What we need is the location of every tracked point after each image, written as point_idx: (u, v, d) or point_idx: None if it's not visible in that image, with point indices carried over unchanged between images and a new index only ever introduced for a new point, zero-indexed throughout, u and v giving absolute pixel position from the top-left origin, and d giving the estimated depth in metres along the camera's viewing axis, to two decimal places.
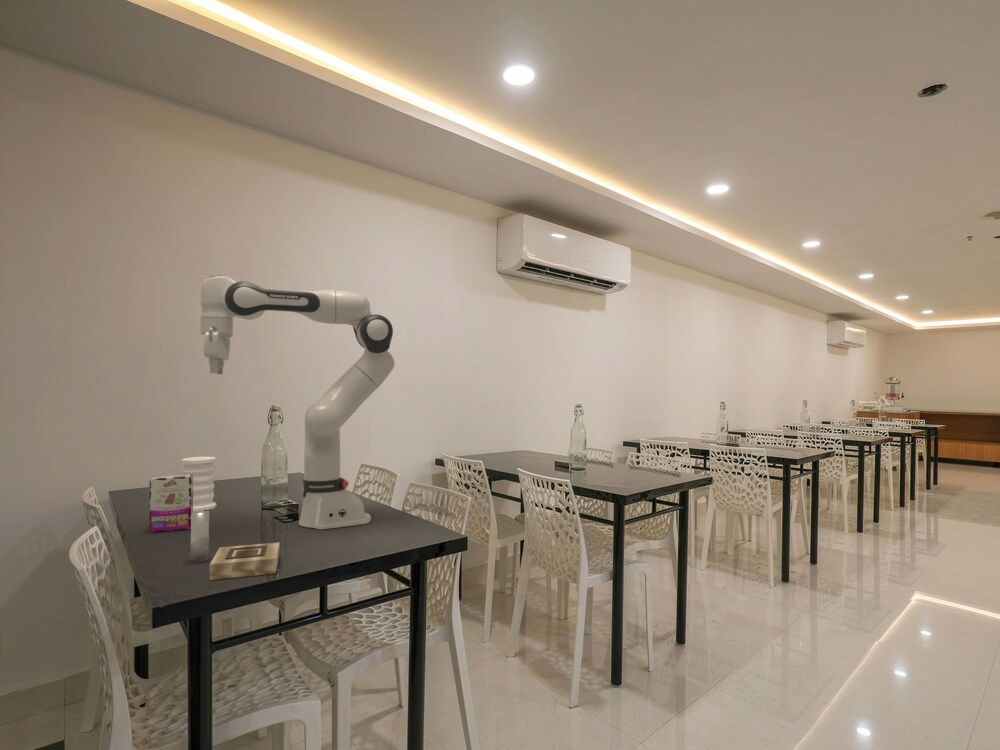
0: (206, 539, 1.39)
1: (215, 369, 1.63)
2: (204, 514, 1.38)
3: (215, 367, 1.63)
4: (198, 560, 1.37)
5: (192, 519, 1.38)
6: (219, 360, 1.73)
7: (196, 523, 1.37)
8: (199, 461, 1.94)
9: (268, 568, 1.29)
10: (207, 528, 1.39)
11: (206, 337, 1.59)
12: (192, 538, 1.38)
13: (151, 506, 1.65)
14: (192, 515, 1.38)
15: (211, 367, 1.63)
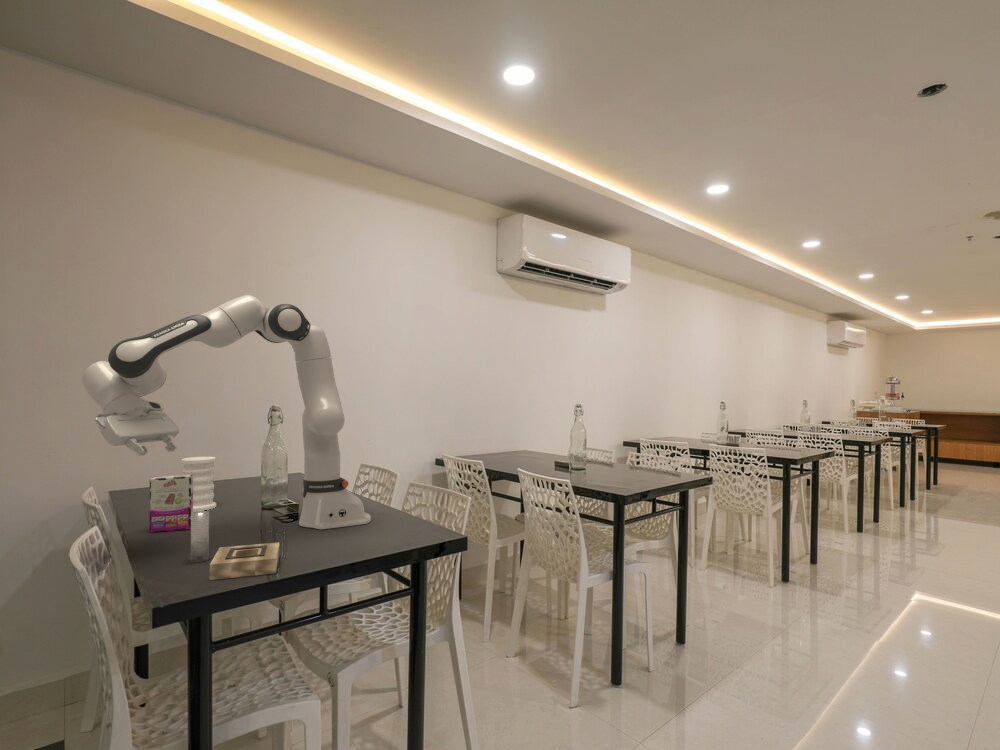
0: (206, 539, 1.39)
1: (140, 449, 1.37)
2: (204, 514, 1.38)
3: (138, 447, 1.37)
4: (198, 560, 1.37)
5: (192, 519, 1.38)
6: (164, 438, 1.48)
7: (196, 523, 1.37)
8: (199, 461, 1.94)
9: (268, 568, 1.29)
10: (207, 528, 1.39)
11: (100, 429, 1.35)
12: (192, 538, 1.38)
13: (151, 506, 1.65)
14: (192, 515, 1.38)
15: (136, 450, 1.37)
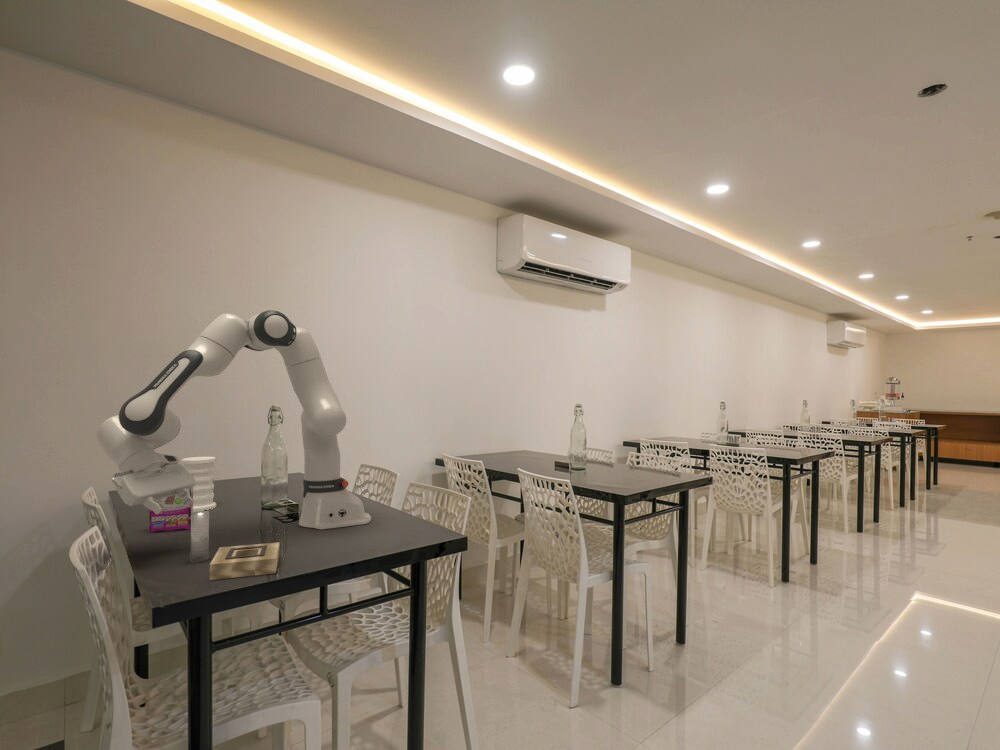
0: (206, 539, 1.39)
1: (157, 507, 1.36)
2: (204, 514, 1.38)
3: (155, 506, 1.36)
4: (198, 560, 1.37)
5: (192, 519, 1.38)
6: (180, 491, 1.47)
7: (196, 523, 1.37)
8: (199, 461, 1.94)
9: (268, 568, 1.29)
10: (207, 528, 1.39)
11: (117, 489, 1.33)
12: (192, 538, 1.38)
13: None
14: (192, 515, 1.38)
15: (153, 509, 1.36)
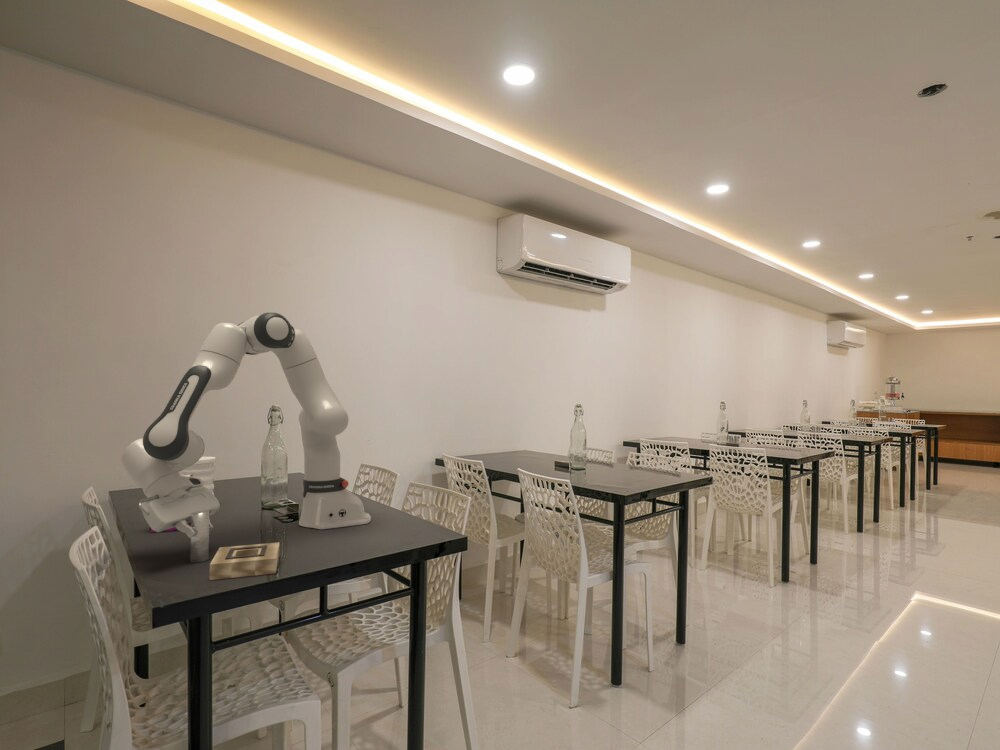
0: (206, 539, 1.39)
1: (190, 531, 1.36)
2: (204, 514, 1.38)
3: (189, 529, 1.36)
4: (198, 560, 1.37)
5: (192, 519, 1.38)
6: None
7: (196, 523, 1.37)
8: (199, 461, 1.94)
9: (268, 568, 1.29)
10: (207, 528, 1.39)
11: (144, 515, 1.32)
12: (192, 538, 1.38)
13: None
14: (192, 515, 1.38)
15: (186, 532, 1.36)
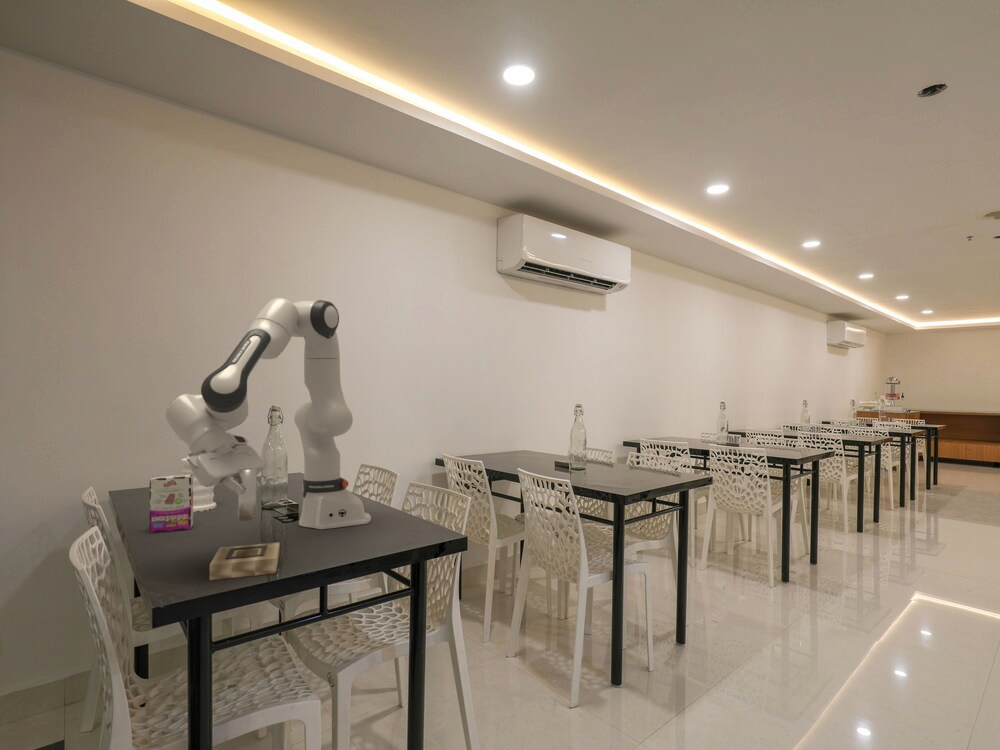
0: (254, 497, 1.33)
1: (239, 488, 1.31)
2: (252, 471, 1.33)
3: (237, 486, 1.31)
4: (246, 518, 1.32)
5: (240, 476, 1.32)
6: None
7: (244, 480, 1.32)
8: None
9: (268, 568, 1.29)
10: (255, 485, 1.34)
11: (192, 469, 1.26)
12: (240, 495, 1.32)
13: (151, 506, 1.65)
14: (240, 471, 1.32)
15: (234, 489, 1.31)
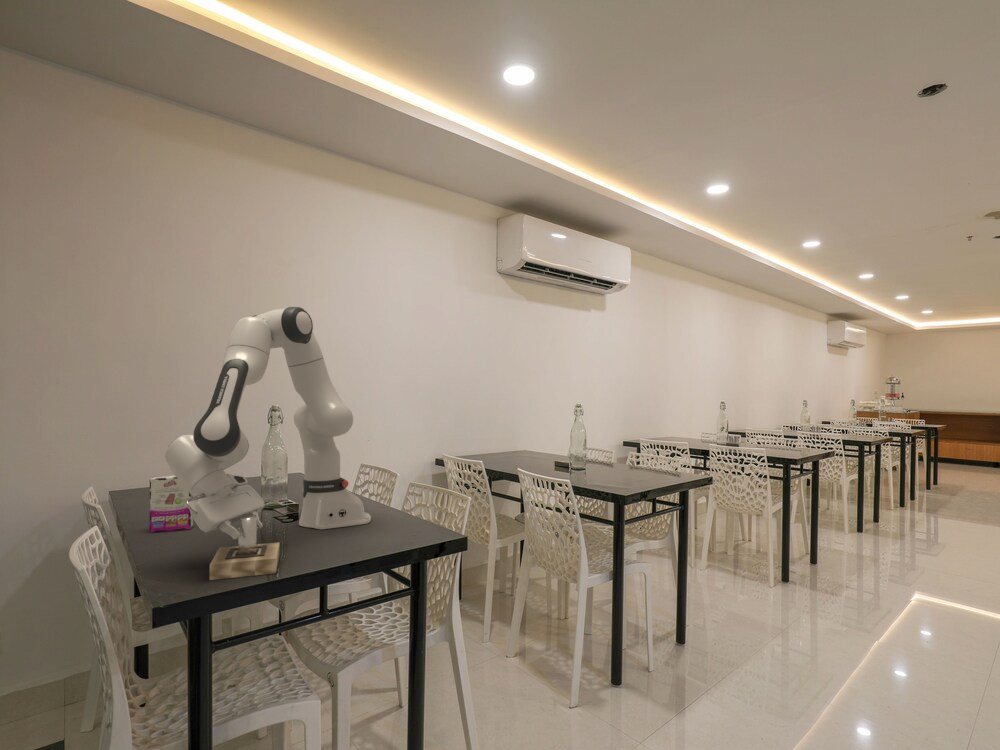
0: (254, 545, 1.33)
1: (235, 532, 1.29)
2: (252, 519, 1.33)
3: (233, 531, 1.29)
4: None
5: (240, 524, 1.32)
6: (249, 515, 1.39)
7: (244, 529, 1.32)
8: None
9: (268, 568, 1.29)
10: (255, 534, 1.34)
11: (192, 514, 1.26)
12: (240, 544, 1.32)
13: (151, 506, 1.65)
14: (240, 520, 1.32)
15: (230, 534, 1.29)
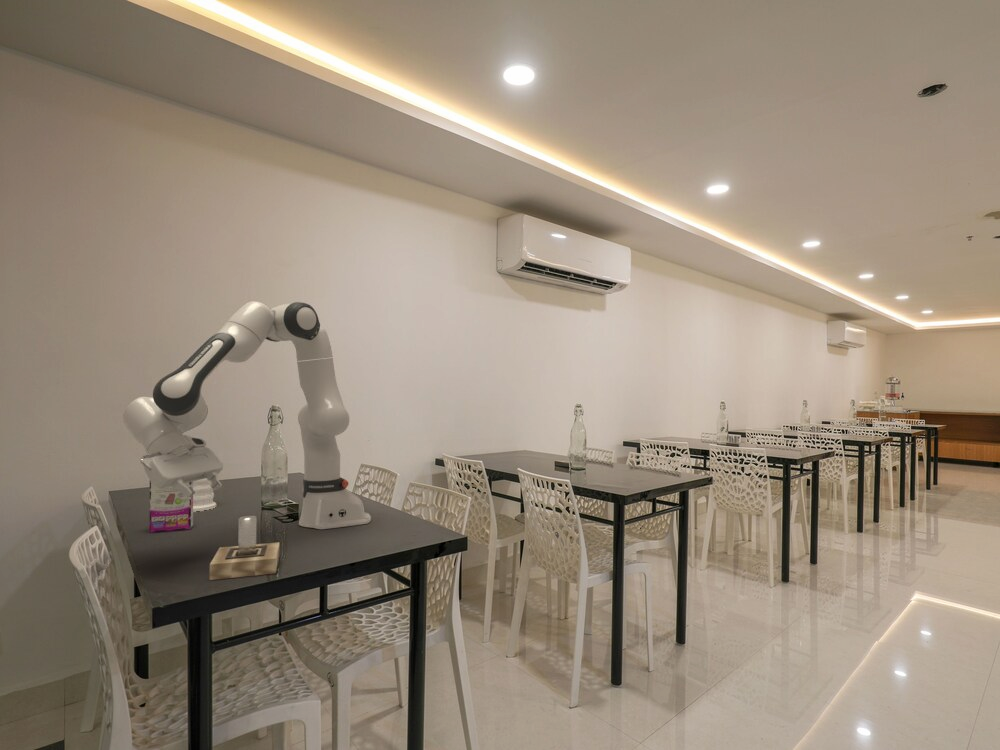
0: (254, 545, 1.33)
1: (187, 490, 1.31)
2: (252, 519, 1.33)
3: (185, 489, 1.31)
4: None
5: (240, 525, 1.32)
6: (209, 475, 1.42)
7: (244, 529, 1.32)
8: None
9: (268, 568, 1.29)
10: (255, 534, 1.34)
11: (146, 471, 1.29)
12: (240, 544, 1.32)
13: (151, 506, 1.65)
14: (240, 520, 1.32)
15: (183, 492, 1.31)
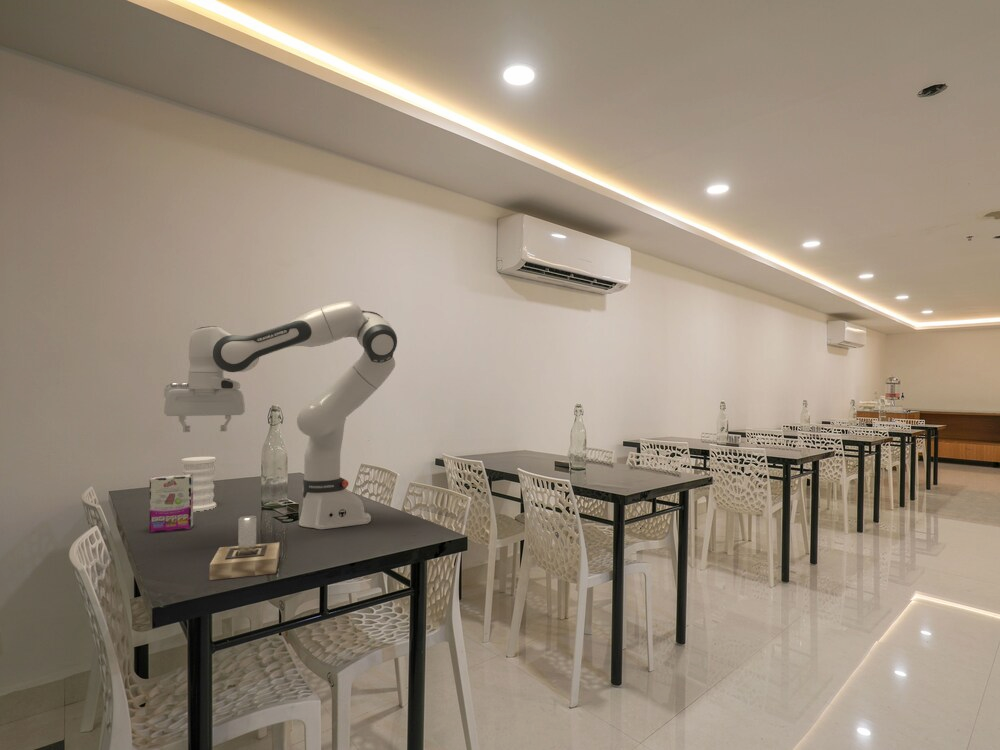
0: (254, 545, 1.33)
1: (183, 428, 1.54)
2: (252, 519, 1.33)
3: (183, 426, 1.54)
4: None
5: (240, 525, 1.32)
6: None
7: (244, 529, 1.32)
8: (199, 461, 1.94)
9: (268, 568, 1.29)
10: (255, 534, 1.34)
11: None
12: (240, 544, 1.32)
13: (151, 506, 1.65)
14: (240, 520, 1.32)
15: None
